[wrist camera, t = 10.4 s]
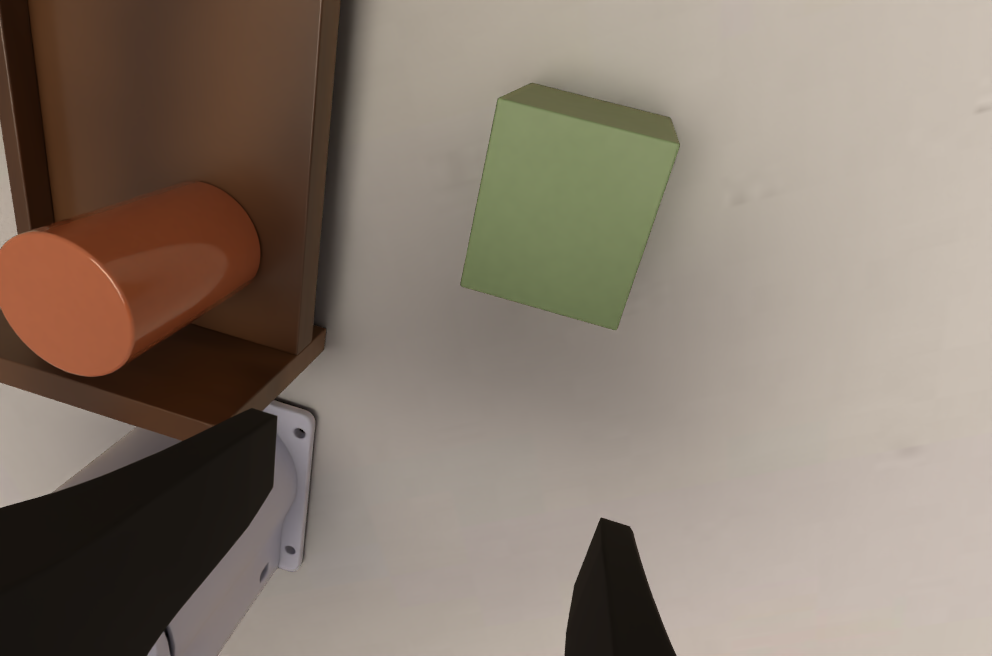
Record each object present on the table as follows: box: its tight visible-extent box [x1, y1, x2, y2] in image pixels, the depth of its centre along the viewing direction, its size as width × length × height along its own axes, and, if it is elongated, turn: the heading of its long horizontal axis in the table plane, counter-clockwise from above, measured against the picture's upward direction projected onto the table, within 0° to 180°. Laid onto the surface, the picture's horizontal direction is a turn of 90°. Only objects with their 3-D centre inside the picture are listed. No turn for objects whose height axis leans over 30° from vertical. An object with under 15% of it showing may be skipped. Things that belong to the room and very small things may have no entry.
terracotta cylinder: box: [0, 181, 261, 377], centre depth 18 cm, size 4×4×6 cm
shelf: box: [0, 0, 341, 441], centre depth 18 cm, size 10×18×7 cm, turn 168°
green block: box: [460, 83, 680, 330], centre depth 18 cm, size 5×4×5 cm
